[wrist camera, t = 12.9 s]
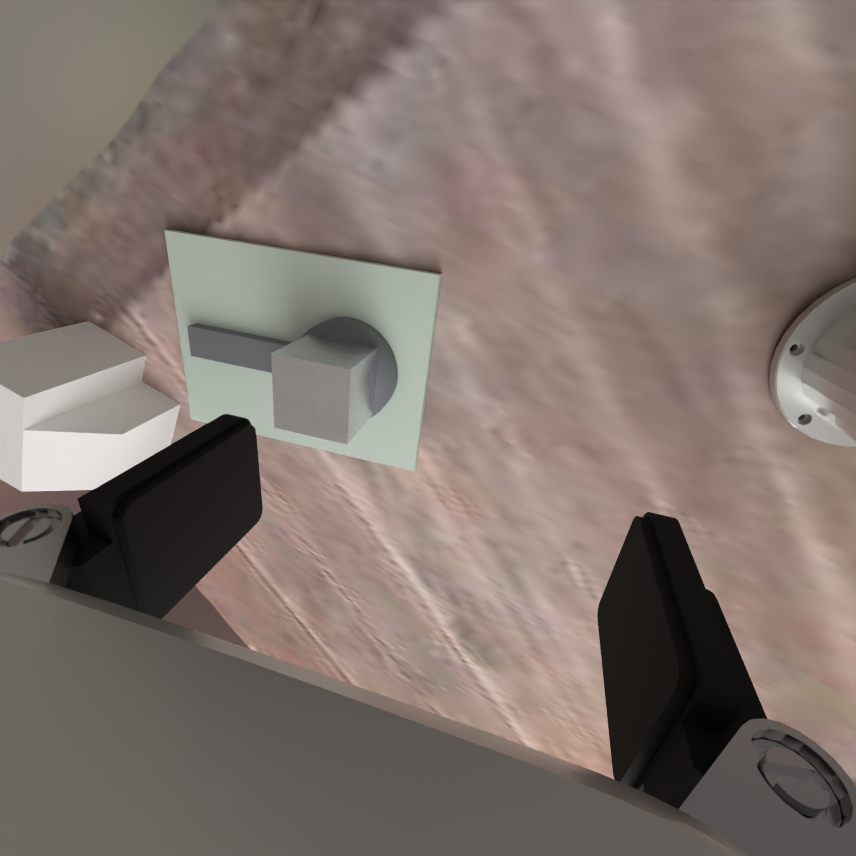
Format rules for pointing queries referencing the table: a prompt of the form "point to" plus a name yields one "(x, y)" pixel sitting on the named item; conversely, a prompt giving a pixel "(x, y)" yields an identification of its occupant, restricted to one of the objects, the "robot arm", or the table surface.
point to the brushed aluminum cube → (324, 387)
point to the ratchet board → (301, 333)
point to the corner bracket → (76, 409)
